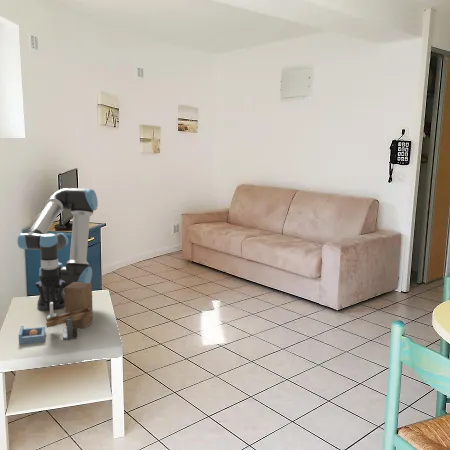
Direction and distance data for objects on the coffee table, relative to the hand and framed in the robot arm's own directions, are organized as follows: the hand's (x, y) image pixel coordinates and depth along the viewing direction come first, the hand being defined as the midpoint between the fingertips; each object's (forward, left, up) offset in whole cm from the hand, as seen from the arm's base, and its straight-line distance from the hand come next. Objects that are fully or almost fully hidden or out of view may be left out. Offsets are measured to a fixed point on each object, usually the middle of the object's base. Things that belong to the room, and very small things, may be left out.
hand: (51, 316), depth 223 cm
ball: (+6, -8, -5) cm, 11 cm away
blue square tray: (+6, -8, -7) cm, 13 cm away
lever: (+3, +8, 0) cm, 9 cm away
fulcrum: (+6, +8, -7) cm, 13 cm away
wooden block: (-5, +12, -8) cm, 15 cm away
